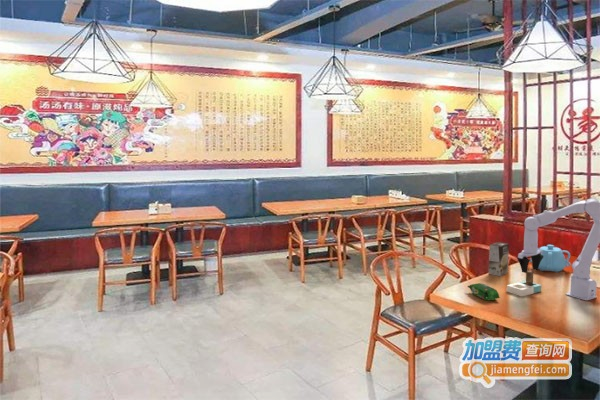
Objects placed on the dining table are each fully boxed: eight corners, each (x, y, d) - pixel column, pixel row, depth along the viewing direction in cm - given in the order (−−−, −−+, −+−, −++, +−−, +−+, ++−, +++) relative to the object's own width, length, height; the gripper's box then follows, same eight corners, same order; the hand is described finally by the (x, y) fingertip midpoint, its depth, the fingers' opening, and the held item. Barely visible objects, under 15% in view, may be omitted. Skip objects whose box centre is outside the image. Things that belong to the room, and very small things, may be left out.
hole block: (541, 291, 210) (541, 285, 209) (521, 296, 204) (522, 290, 203) (525, 286, 217) (526, 280, 216) (506, 291, 211) (506, 285, 210)
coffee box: (500, 276, 234) (500, 246, 231) (488, 273, 238) (489, 244, 236) (508, 272, 239) (509, 243, 237) (496, 270, 244) (497, 241, 242)
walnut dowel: (534, 290, 211) (534, 272, 210) (529, 291, 210) (530, 273, 209) (528, 288, 214) (529, 270, 213) (524, 289, 213) (524, 271, 211)
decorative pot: (574, 272, 236) (575, 247, 235) (546, 274, 234) (547, 249, 232) (552, 264, 252) (553, 241, 251) (526, 266, 250) (527, 242, 248)
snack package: (479, 290, 214) (479, 280, 213) (501, 301, 199) (501, 290, 198) (466, 292, 212) (466, 281, 212) (487, 303, 197) (487, 291, 197)
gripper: (533, 239, 216) (532, 266, 217) (512, 243, 209) (511, 271, 211) (546, 242, 209) (545, 270, 211) (526, 246, 203) (525, 275, 205)
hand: (529, 271), depth 211 cm, fingers open, 7 cm apart
